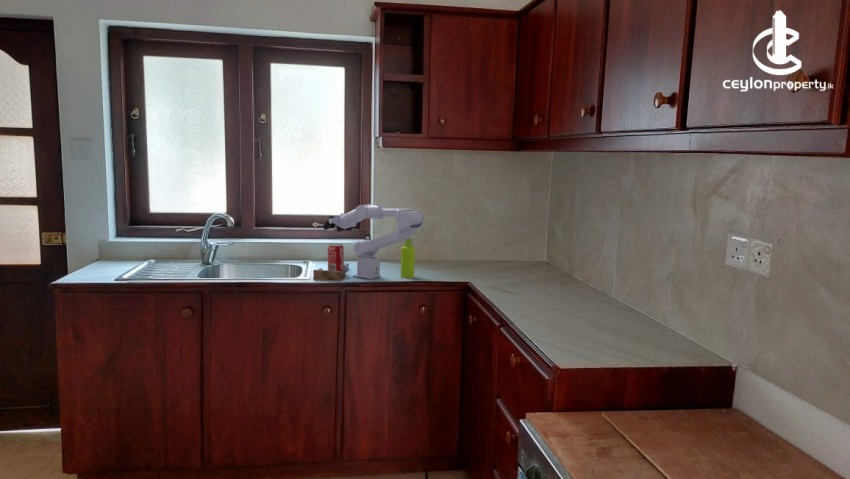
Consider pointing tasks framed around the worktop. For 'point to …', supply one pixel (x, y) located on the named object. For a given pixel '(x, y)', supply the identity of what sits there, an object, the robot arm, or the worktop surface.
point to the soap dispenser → (407, 259)
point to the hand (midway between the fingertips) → (330, 228)
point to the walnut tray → (328, 275)
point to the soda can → (335, 257)
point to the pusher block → (346, 266)
